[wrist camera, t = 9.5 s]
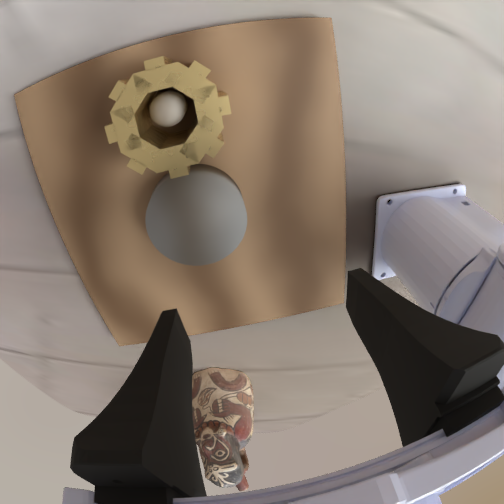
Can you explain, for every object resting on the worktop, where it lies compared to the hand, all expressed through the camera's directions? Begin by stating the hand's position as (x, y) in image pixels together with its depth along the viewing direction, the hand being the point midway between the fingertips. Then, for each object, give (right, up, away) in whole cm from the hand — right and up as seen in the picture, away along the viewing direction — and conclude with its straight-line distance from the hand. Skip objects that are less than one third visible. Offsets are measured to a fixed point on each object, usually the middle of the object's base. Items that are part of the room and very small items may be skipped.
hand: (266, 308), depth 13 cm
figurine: (-4, -12, +20) cm, 23 cm away
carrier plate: (-4, +6, +8) cm, 11 cm away
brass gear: (-5, +10, +4) cm, 12 cm away
